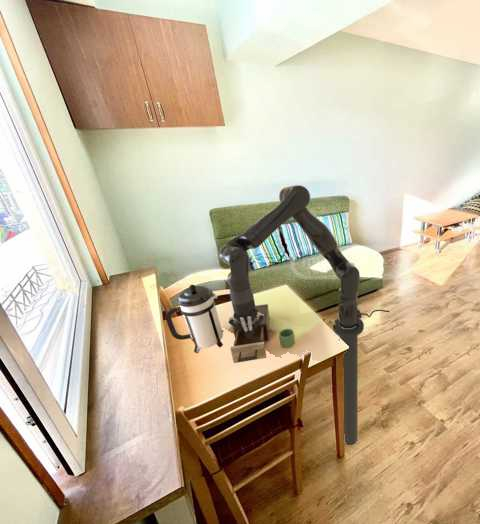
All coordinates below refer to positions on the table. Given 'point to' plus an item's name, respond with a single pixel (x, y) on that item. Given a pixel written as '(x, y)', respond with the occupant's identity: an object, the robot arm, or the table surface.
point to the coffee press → (198, 317)
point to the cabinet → (264, 322)
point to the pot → (286, 338)
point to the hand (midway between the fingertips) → (250, 337)
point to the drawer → (249, 346)
